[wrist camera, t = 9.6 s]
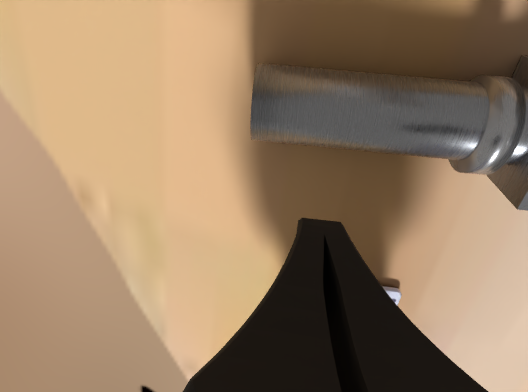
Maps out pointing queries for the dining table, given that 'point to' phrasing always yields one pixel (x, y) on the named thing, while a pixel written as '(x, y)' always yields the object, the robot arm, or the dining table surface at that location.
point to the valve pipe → (402, 117)
